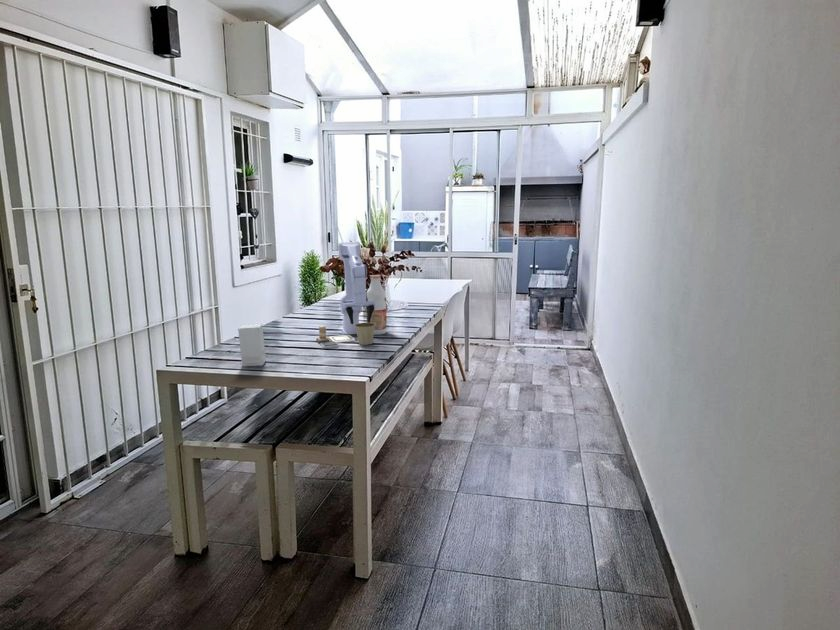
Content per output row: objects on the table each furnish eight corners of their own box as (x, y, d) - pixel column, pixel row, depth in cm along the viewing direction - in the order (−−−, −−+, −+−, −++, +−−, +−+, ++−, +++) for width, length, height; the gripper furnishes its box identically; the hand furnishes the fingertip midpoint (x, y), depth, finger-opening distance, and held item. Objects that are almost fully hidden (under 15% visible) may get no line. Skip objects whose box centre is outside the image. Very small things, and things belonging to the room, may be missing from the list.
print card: (328, 337, 265) (328, 336, 265) (349, 335, 269) (349, 334, 269) (334, 343, 255) (334, 341, 255) (355, 341, 259) (355, 339, 259)
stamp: (316, 341, 260) (315, 326, 259) (327, 340, 262) (326, 325, 260) (318, 343, 255) (317, 328, 254) (329, 342, 257) (328, 327, 256)
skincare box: (266, 361, 227) (263, 323, 224) (262, 366, 221) (259, 327, 218) (245, 362, 227) (242, 324, 224) (240, 366, 220) (237, 327, 217)
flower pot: (356, 346, 249) (356, 327, 247) (353, 341, 258) (352, 323, 256) (377, 345, 251) (377, 326, 250) (373, 340, 260) (373, 321, 259)
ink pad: (320, 345, 252) (320, 342, 252) (335, 343, 255) (335, 340, 255) (323, 348, 246) (323, 345, 246) (338, 346, 249) (338, 344, 249)
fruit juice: (363, 332, 276) (362, 275, 271) (380, 329, 281) (379, 273, 276) (373, 335, 269) (371, 277, 263) (390, 333, 274) (389, 275, 268)
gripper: (345, 295, 241) (346, 326, 244) (378, 292, 246) (378, 323, 249) (341, 292, 248) (342, 323, 250) (373, 290, 253) (373, 320, 256)
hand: (360, 322), depth 250 cm, fingers open, 7 cm apart
